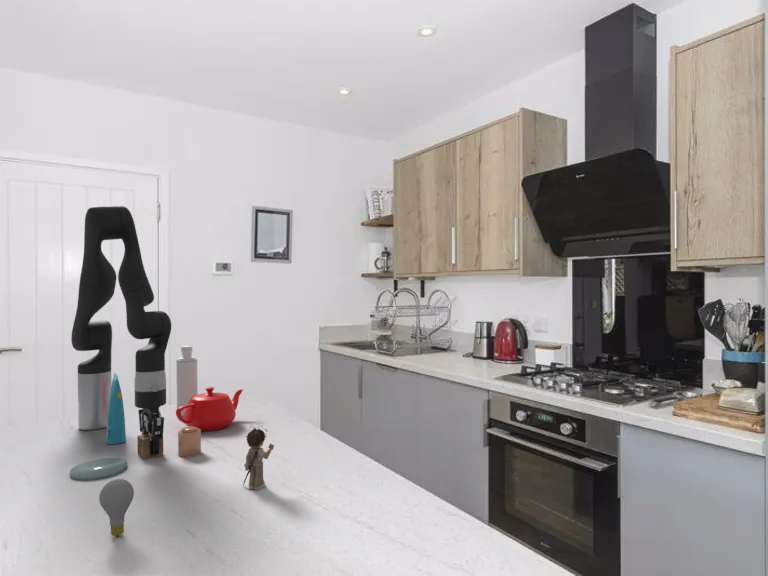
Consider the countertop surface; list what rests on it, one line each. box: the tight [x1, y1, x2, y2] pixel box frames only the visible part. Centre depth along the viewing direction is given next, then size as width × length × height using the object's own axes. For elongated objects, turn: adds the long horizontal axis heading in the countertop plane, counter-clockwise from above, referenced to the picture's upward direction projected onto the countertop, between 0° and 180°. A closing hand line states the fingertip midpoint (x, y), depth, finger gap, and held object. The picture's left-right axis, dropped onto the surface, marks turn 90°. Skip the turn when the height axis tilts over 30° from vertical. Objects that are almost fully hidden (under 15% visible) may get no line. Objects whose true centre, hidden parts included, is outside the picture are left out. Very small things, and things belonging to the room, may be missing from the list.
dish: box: [69, 457, 128, 481], centre depth 123 cm, size 12×12×1 cm
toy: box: [240, 418, 275, 491], centre depth 113 cm, size 6×6×15 cm
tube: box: [106, 372, 127, 445], centre depth 146 cm, size 7×5×19 cm, turn 39°
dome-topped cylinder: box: [177, 426, 202, 458], centre depth 135 cm, size 6×6×7 cm
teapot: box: [175, 386, 244, 432], centre depth 162 cm, size 25×16×12 cm, turn 145°
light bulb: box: [98, 478, 135, 538], centre depth 91 cm, size 6×5×10 cm
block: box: [137, 432, 164, 460], centre depth 135 cm, size 5×5×5 cm
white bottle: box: [175, 345, 199, 418], centre depth 175 cm, size 7×7×25 cm
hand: (151, 451), depth 135 cm, fingers closed on block, 5 cm apart
